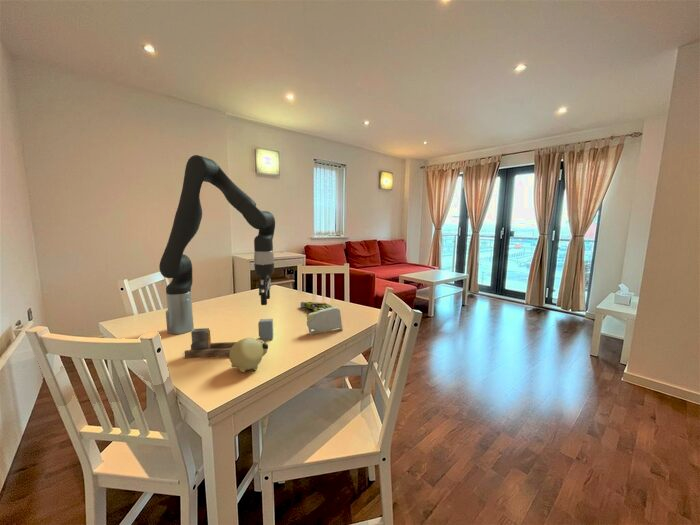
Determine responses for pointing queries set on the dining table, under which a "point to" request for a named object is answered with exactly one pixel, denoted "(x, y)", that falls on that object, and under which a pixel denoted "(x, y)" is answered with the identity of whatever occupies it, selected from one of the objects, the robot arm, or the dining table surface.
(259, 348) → the toy pig
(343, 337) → the dining table surface
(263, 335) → the grey rectangular block
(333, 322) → the grey rectangular slab
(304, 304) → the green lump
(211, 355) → the rail
